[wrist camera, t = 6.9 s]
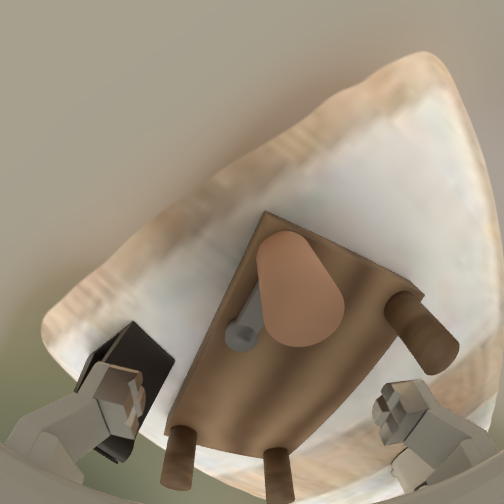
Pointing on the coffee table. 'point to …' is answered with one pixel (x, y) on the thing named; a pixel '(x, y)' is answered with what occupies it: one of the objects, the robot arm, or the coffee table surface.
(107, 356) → the phone stand
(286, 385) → the stool base
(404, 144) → the coffee table surface
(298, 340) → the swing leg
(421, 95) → the coffee table surface
